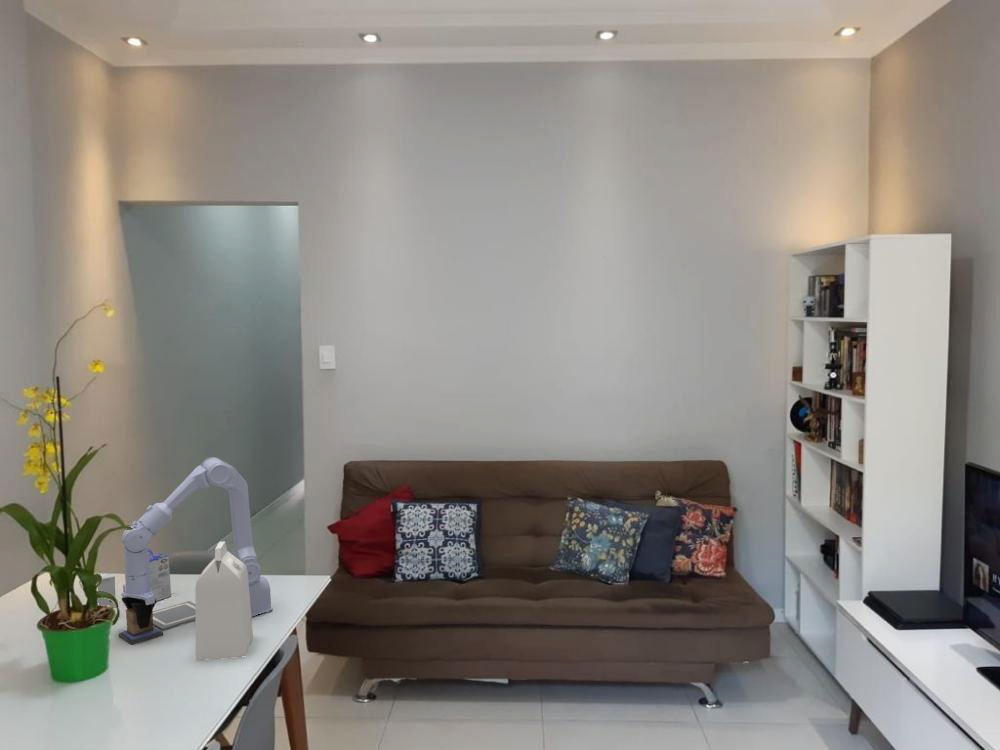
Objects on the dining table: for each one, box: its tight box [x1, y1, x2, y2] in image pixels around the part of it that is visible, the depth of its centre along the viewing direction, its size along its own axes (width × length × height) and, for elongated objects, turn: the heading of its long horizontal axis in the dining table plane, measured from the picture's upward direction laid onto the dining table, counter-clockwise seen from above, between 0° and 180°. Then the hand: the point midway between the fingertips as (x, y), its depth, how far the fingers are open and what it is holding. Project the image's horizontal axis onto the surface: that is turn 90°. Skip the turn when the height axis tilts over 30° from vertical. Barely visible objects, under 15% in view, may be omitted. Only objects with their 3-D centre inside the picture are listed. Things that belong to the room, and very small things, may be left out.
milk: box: [194, 540, 254, 661], centre depth 193 cm, size 12×12×26 cm
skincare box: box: [98, 572, 116, 607], centre depth 214 cm, size 6×4×12 cm
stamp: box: [125, 608, 154, 636], centre depth 203 cm, size 5×4×6 cm
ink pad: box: [118, 626, 164, 646], centre depth 203 cm, size 8×8×1 cm
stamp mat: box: [152, 600, 195, 632], centre depth 216 cm, size 14×14×1 cm
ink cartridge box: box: [148, 548, 172, 602], centre depth 228 cm, size 10×6×14 cm, turn 148°
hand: (140, 625), depth 203 cm, fingers closed on stamp, 4 cm apart
